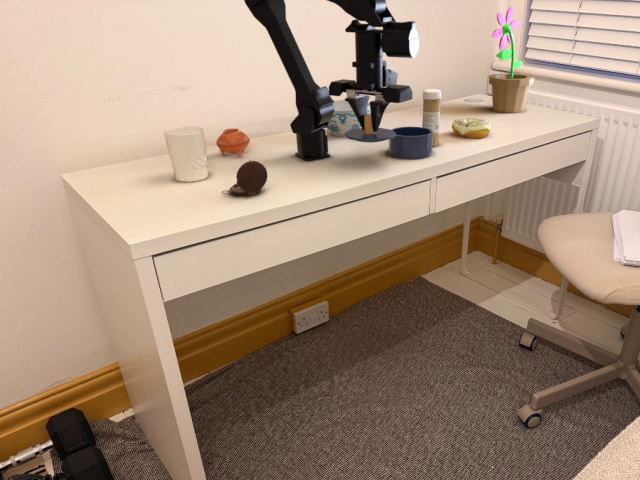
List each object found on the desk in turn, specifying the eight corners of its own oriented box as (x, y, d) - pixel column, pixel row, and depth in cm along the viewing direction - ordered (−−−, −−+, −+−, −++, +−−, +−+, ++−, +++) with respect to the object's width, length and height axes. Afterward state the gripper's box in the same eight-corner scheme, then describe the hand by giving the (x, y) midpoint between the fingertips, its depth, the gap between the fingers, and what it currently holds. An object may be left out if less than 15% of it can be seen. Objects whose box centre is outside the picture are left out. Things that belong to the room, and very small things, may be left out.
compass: (253, 185, 114) (248, 150, 111) (270, 195, 109) (266, 158, 105) (216, 193, 110) (210, 156, 107) (232, 204, 105) (227, 166, 101)
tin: (405, 161, 129) (405, 138, 127) (381, 152, 137) (380, 130, 134) (440, 154, 134) (441, 132, 132) (415, 145, 142) (415, 124, 139)
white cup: (172, 184, 115) (162, 136, 111) (173, 173, 122) (164, 127, 117) (211, 180, 117) (203, 133, 112) (210, 170, 124) (203, 125, 119)
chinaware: (331, 142, 145) (330, 112, 141) (308, 131, 156) (306, 103, 153) (381, 135, 152) (380, 106, 148) (355, 125, 163) (354, 98, 159)
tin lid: (362, 147, 119) (361, 122, 116) (335, 136, 127) (334, 113, 124) (405, 139, 124) (405, 116, 122) (377, 130, 132) (377, 107, 130)
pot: (259, 153, 135) (250, 127, 131) (231, 166, 132) (221, 140, 127) (244, 146, 140) (235, 120, 136) (217, 158, 137) (207, 133, 133)
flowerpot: (505, 103, 191) (514, 6, 177) (539, 110, 181) (552, 7, 167) (477, 109, 183) (484, 7, 169) (511, 116, 173) (522, 8, 159)
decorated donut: (460, 140, 146) (461, 126, 145) (445, 131, 155) (446, 117, 154) (496, 137, 149) (498, 123, 147) (479, 128, 158) (480, 115, 156)
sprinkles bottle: (430, 141, 145) (432, 87, 139) (442, 145, 142) (445, 90, 136) (417, 144, 143) (418, 89, 136) (429, 148, 140) (431, 92, 133)
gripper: (426, 55, 119) (424, 129, 126) (355, 50, 128) (357, 119, 135) (398, 60, 110) (398, 139, 118) (325, 55, 119) (329, 128, 127)
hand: (370, 130), depth 125 cm, fingers closed on tin lid, 3 cm apart
